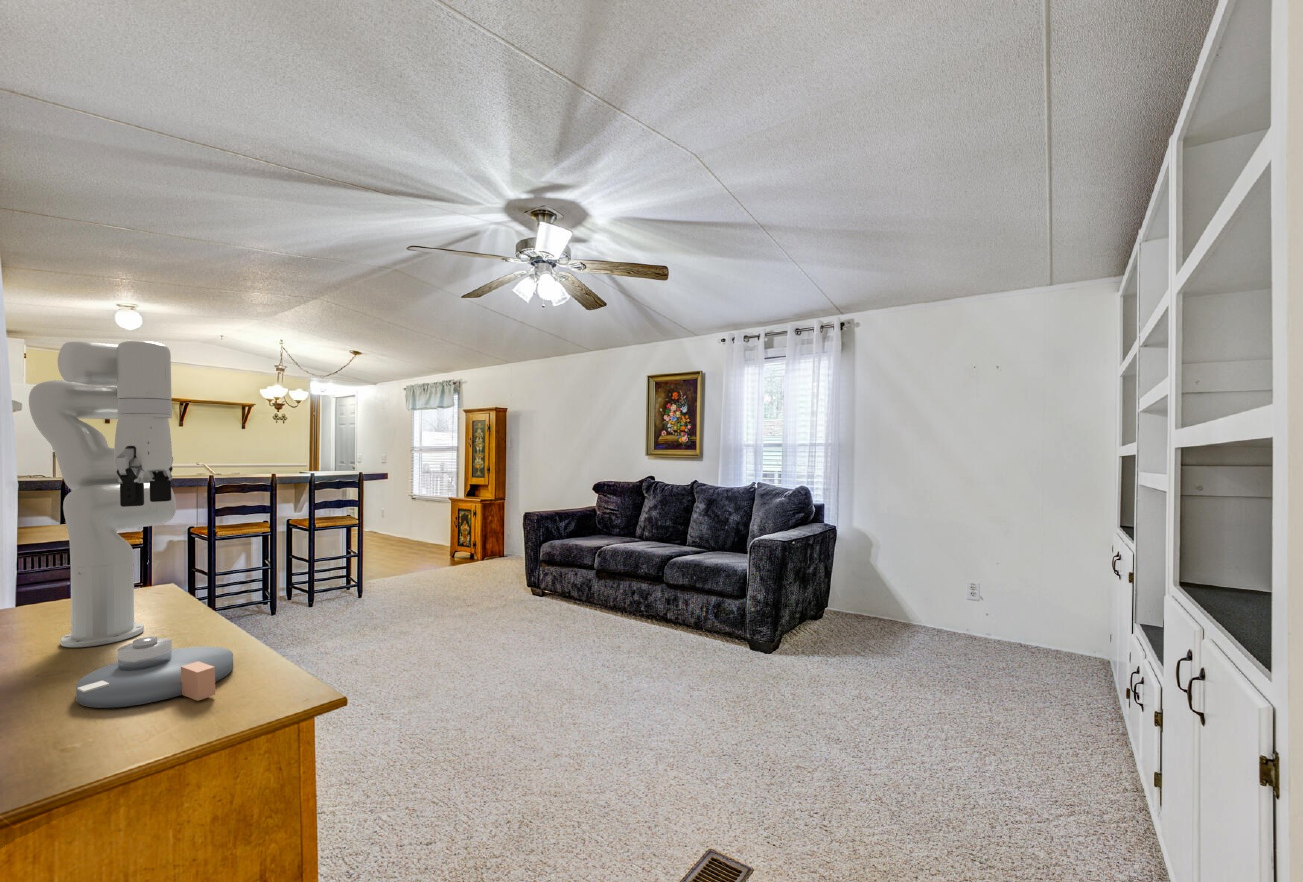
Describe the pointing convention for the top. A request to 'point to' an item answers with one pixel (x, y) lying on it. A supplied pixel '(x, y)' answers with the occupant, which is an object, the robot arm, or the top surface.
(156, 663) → the cover
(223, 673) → the turntable
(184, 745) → the top surface
